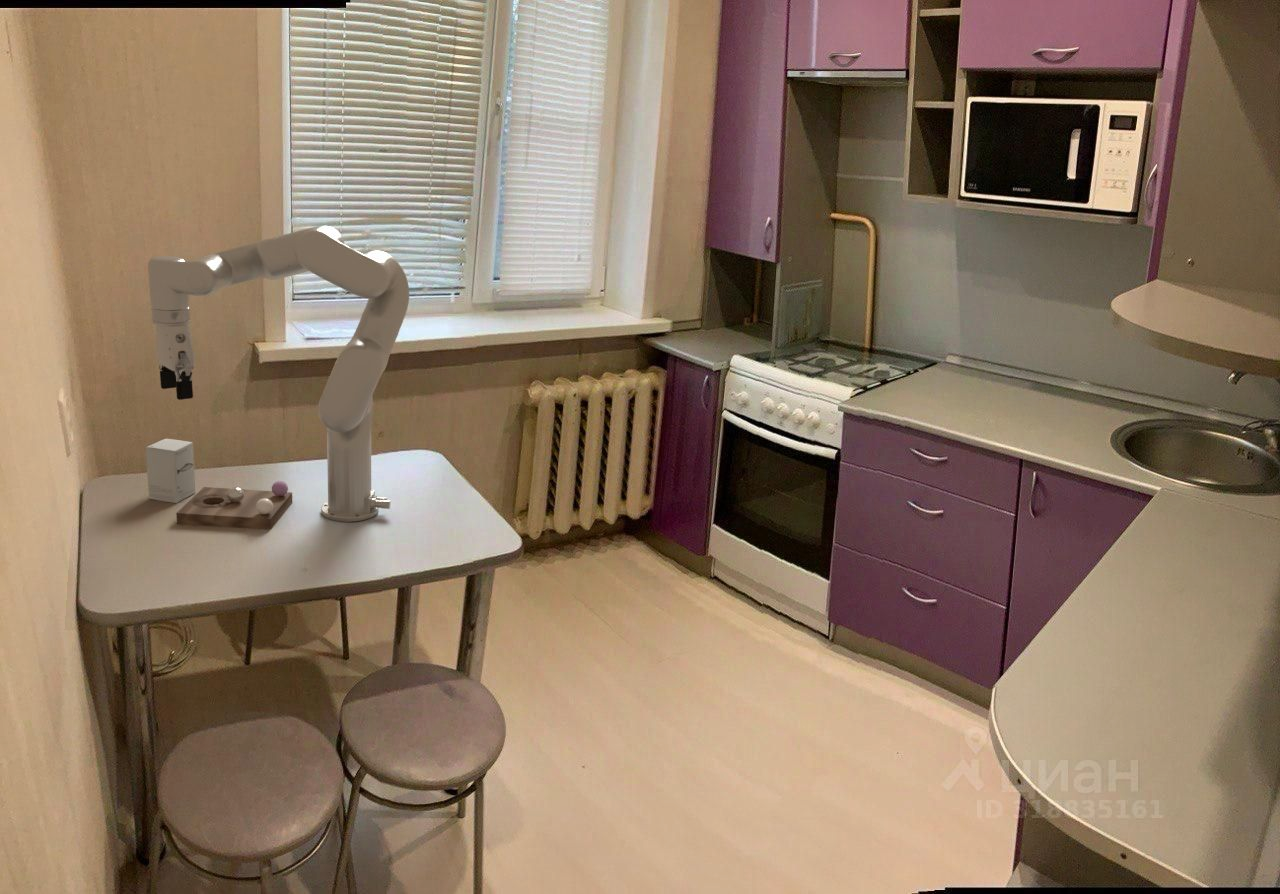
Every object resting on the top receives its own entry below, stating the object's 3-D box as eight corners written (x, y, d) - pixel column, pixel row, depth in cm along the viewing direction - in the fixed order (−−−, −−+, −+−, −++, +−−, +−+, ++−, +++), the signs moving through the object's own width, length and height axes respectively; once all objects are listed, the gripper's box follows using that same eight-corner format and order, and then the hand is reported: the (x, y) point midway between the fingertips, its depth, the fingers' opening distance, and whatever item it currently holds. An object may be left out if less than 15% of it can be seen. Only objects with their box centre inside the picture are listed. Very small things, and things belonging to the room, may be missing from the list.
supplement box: (177, 504, 234) (173, 451, 230) (147, 499, 236) (143, 446, 232) (197, 493, 241) (193, 441, 237) (168, 488, 242) (164, 437, 239)
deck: (292, 502, 240) (292, 492, 239) (270, 529, 225) (270, 518, 224) (204, 497, 239) (203, 486, 238) (177, 523, 224) (176, 513, 223)
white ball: (275, 511, 228) (274, 496, 227) (270, 517, 225) (269, 502, 224) (259, 510, 228) (258, 495, 227) (254, 516, 225) (253, 501, 224)
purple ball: (290, 493, 239) (289, 479, 238) (285, 499, 235) (285, 484, 234) (274, 492, 238) (274, 478, 237) (269, 498, 235) (269, 483, 234)
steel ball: (246, 500, 233) (246, 485, 232) (241, 505, 230) (240, 491, 229) (231, 499, 233) (230, 484, 232) (225, 504, 230) (224, 490, 228)
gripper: (204, 322, 217) (209, 400, 222) (174, 307, 229) (180, 382, 234) (167, 325, 212) (173, 405, 217) (138, 309, 224) (145, 386, 229)
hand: (176, 393), depth 226 cm, fingers open, 9 cm apart
